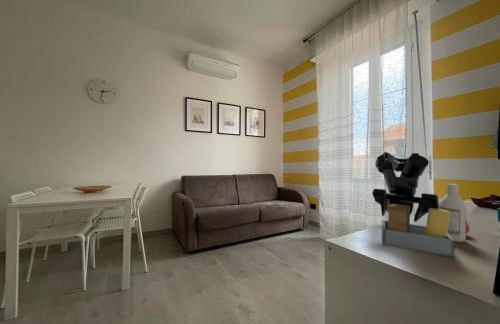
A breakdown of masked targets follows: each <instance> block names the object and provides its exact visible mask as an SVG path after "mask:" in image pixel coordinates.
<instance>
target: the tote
mask: <svg viewBox="0 0 500 324" xmlns="http://www.w3.org/2000/svg"><path fill="white" fill-rule="evenodd" d="M425 232H426V225H421V224H414V223H410V233H407V232H400V231H394V230H388V220H383V219H381V240H382V241H381V242H382V245H383V246H384V245H385V246H391V247H395V248H399V249H400V248H401V249H405V250H406V249H407V250H412V251H415V252H422V253H426V254H431V255H438V256H443V257H448V258H453V259H455V255H456V254H455V253H456V251H455V250H456V247H455V246H456V242H455V240H454V239H453V238H452V237H451V236H450V235H449V234H448V233H447V238H446V239H445V238H439V237H433V236H426V235H425Z"/></svg>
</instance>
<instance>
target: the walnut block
mask: <svg viewBox="0 0 500 324" xmlns="http://www.w3.org/2000/svg"><path fill="white" fill-rule="evenodd" d="M387 213H388V215H387V216H388V217H387V221H388V230H394V231H400V232H407V233H410V224H411V214H410V206H406V205H398V204H391V205H389V209H388V212H387Z"/></svg>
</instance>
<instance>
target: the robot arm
mask: <svg viewBox="0 0 500 324" xmlns="http://www.w3.org/2000/svg"><path fill="white" fill-rule="evenodd" d="M429 163H430V161H429V159H427V158H426V156H423V155H420V154H419V152H412V153H410V156H403V155H402V154H400V153H398V151H396V150H385V151H383V153H382V154H380V155H379V156H377V157H376V159H375V163H374V164H375V168H376V169H377V171H378V172H380V173H381V174H382V175H383V178H384V181H385V184H386V187H387V189H388V192H387V189H383V188H374V189H373V190H372V193H371V194H372V197H373V198H374V199H373V200H374V202H376V203H377V204H378V205H380V209H381V215H382V216H383V217H384V216H385V214H386V212H387V213H388V209H389V205H391V204H398V205H406V206H410V215H412V213H413V208H414V205H415V204H418V205H417V208H416V211H415V213H414V218H413V221H414V222H415V223H417V222H418V221H419V220H420V219H421V218H422V217H424V216H425V215H427V214H428V211H429V208H439V205H440V200H439V196H438V194H435V193H425V192H424V193H422V192H421V195H420V196H421V197H420V196H416V194H417V188H418V186H419V178H420V177H421V176H422V175H423V174H424V172H425V170H426V168H427V167H428V166H429ZM395 172H400V175H399V176H397V175H396V173H395Z"/></svg>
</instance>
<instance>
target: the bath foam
mask: <svg viewBox="0 0 500 324" xmlns="http://www.w3.org/2000/svg"><path fill="white" fill-rule="evenodd" d="M439 209H443V210H447V211H449V212H450V219H449V225H448V232H447V233H448V234H449V235H450V236H451V237H452V238H453V239H454V240H455V243H457V242H458V243H464V242H466V240H467V239H466V235H467V233H466V221H467V207H466V203H465V201H464V200H463V198H461V196H460V195H459V184H458V183H447V184H446V194H445V195H444V196H443V197H442V198H441V200H439Z"/></svg>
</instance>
